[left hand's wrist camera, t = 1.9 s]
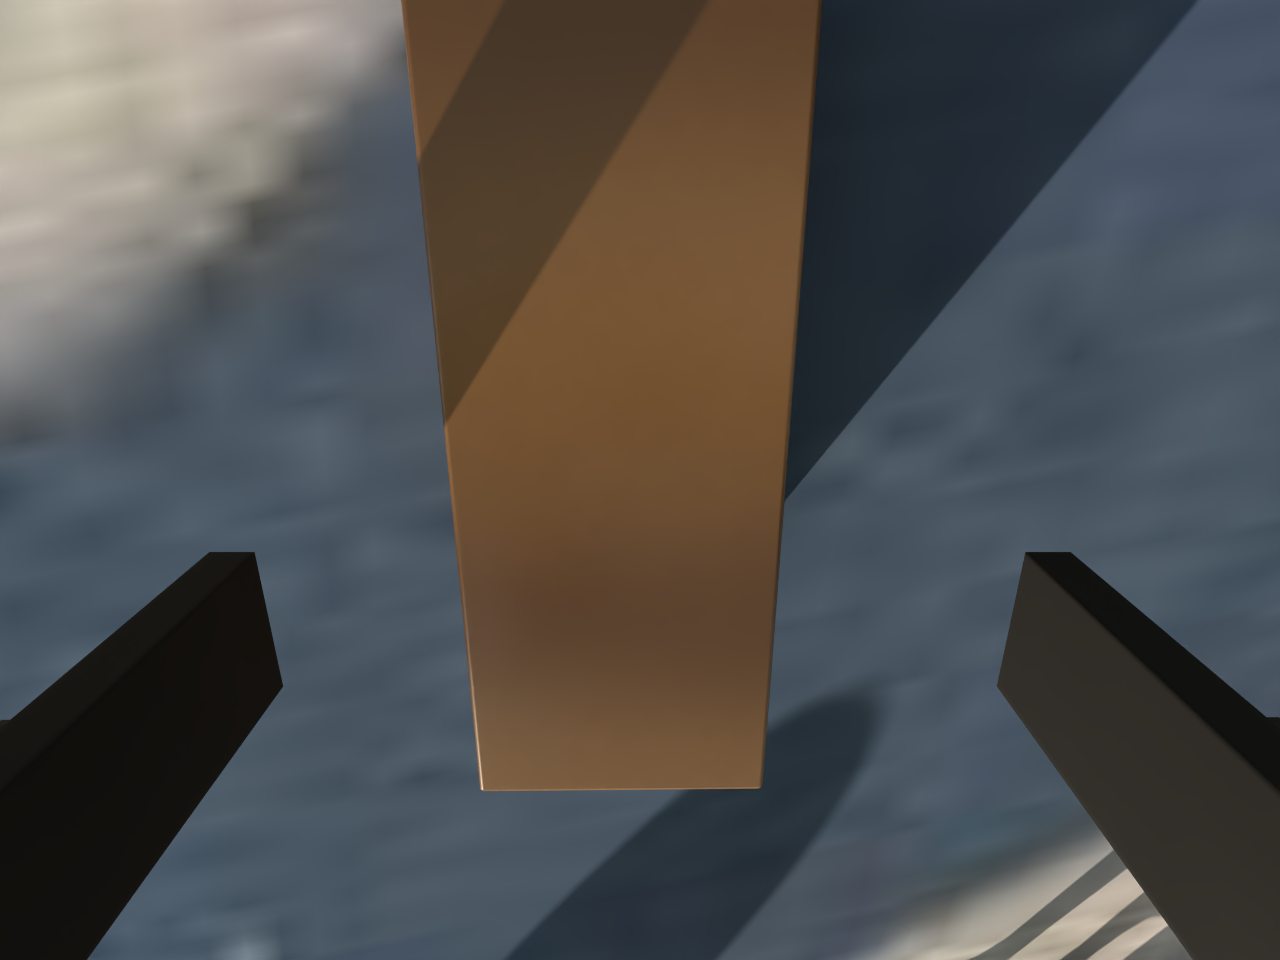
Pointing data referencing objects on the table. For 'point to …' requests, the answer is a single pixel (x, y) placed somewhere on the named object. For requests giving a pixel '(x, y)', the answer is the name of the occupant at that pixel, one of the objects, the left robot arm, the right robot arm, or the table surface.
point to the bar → (616, 368)
